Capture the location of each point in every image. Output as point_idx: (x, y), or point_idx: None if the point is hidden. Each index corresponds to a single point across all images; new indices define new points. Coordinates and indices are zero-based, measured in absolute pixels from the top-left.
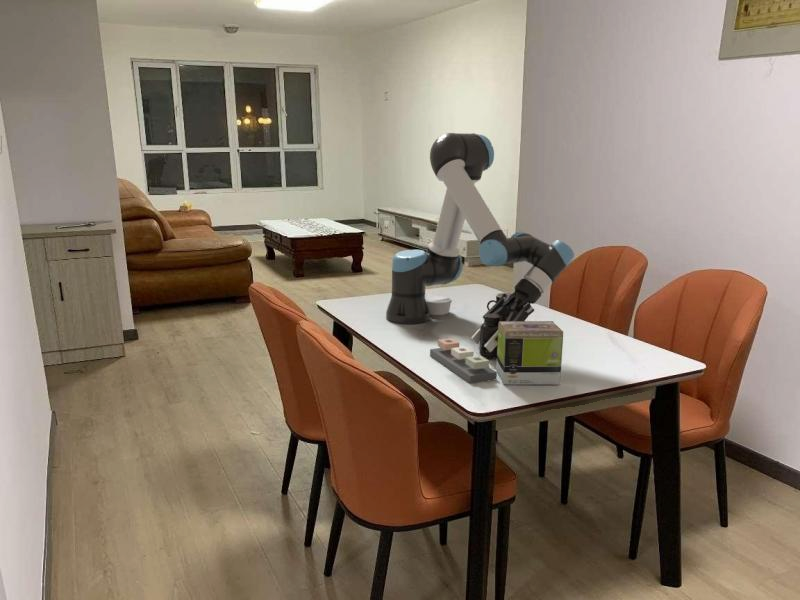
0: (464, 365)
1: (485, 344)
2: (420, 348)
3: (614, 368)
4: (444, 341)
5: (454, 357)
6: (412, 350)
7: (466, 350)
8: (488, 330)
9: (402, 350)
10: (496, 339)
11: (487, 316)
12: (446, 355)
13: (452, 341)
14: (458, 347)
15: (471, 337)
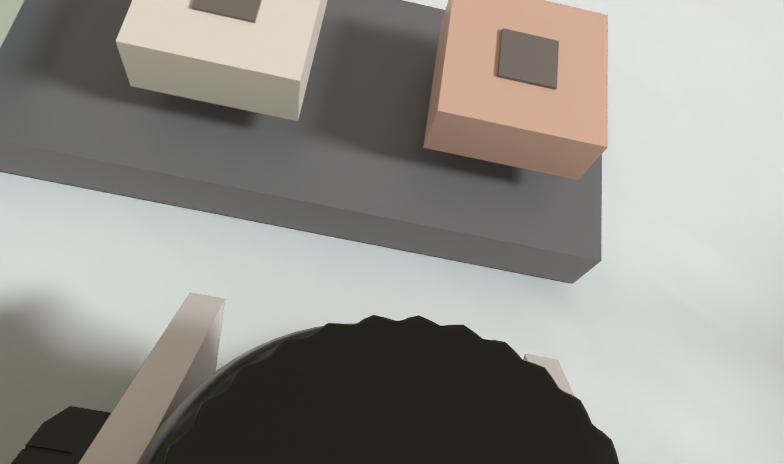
0: (119, 1)
1: (212, 308)
2: (754, 129)
3: None
4: (540, 29)
5: (330, 63)
6: (726, 60)
7: (187, 6)
8: (252, 352)
9: (744, 13)
10: (77, 414)
11: (416, 356)
12: (408, 46)
13: (508, 86)
14: (313, 10)
15: (558, 366)
